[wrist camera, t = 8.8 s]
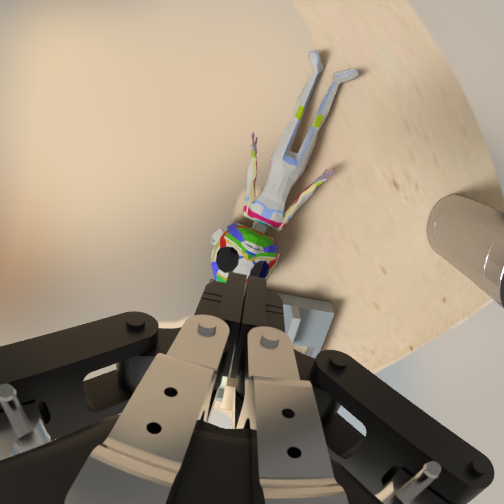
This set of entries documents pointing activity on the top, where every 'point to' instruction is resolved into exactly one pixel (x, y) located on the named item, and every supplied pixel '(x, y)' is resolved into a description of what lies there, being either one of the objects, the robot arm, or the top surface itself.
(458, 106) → the top surface
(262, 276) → the toy
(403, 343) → the top surface
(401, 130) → the top surface
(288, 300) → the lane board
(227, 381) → the block
